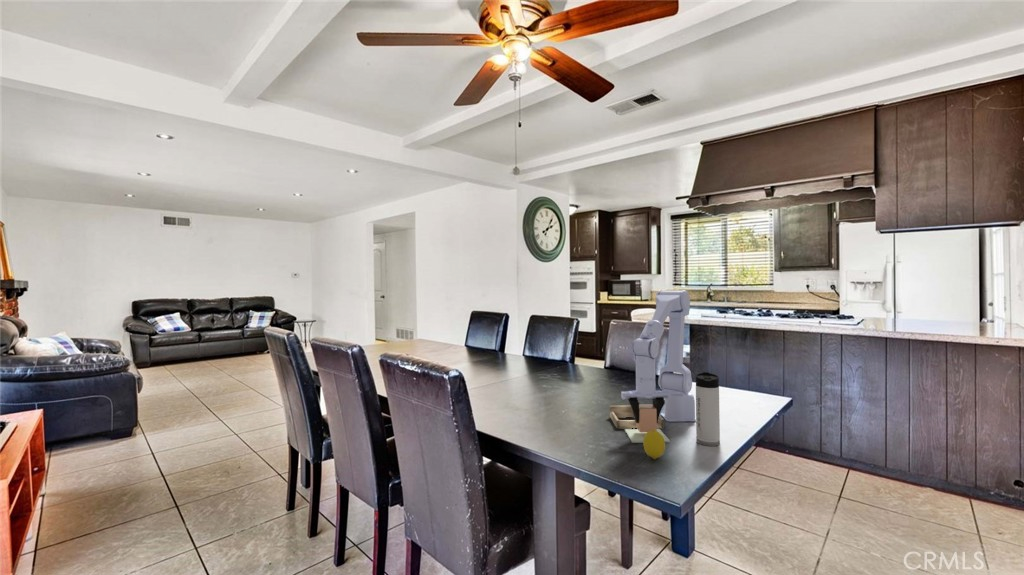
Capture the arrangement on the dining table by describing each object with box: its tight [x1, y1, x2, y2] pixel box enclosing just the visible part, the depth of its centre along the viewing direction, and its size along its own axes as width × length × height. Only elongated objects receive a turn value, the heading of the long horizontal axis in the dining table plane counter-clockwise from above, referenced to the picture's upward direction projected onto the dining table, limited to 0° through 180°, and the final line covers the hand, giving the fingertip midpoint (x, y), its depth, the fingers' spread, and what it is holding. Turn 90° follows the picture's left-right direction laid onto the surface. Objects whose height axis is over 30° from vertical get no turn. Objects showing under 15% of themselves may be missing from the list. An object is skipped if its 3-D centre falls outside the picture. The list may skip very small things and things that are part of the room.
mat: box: [624, 428, 671, 444], centre depth 133 cm, size 11×10×1 cm
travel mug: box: [695, 371, 721, 447], centre depth 128 cm, size 6×7×20 cm
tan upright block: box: [636, 403, 658, 432], centre depth 134 cm, size 5×5×7 cm
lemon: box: [642, 429, 666, 460], centre depth 116 cm, size 6×6×8 cm
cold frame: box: [609, 405, 665, 430], centre depth 146 cm, size 15×12×4 cm
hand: (646, 422), depth 133 cm, fingers closed on tan upright block, 5 cm apart
